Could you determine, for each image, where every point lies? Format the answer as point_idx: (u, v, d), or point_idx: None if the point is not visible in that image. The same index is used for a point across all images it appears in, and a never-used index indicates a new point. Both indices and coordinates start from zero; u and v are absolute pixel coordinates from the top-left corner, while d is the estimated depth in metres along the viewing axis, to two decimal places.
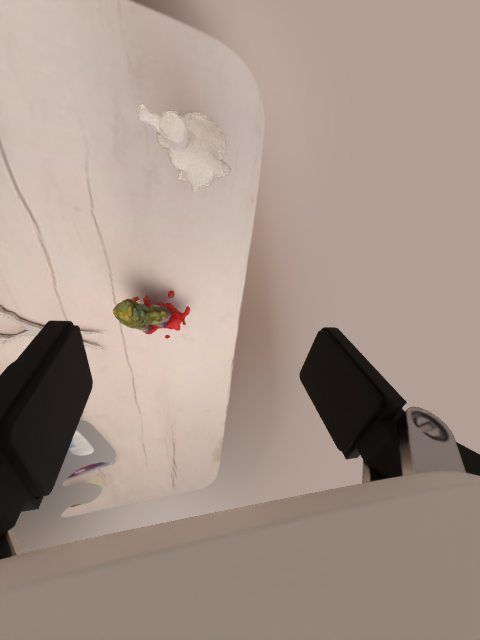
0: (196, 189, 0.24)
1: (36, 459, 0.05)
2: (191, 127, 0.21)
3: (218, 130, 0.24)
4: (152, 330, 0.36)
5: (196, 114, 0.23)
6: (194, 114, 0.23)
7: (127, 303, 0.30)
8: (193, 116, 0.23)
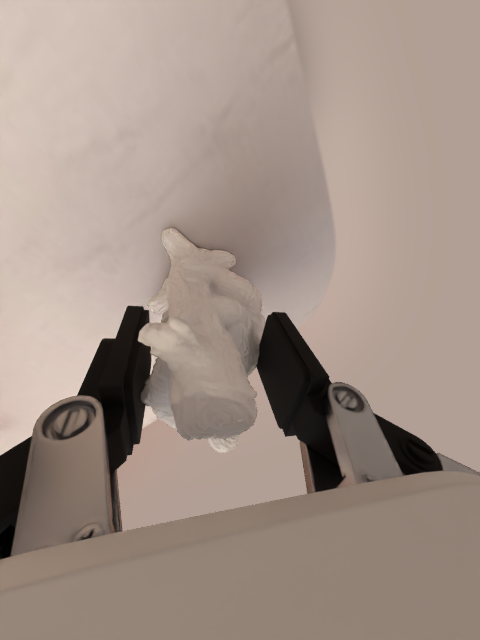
0: None
1: (137, 411, 0.07)
2: (238, 340, 0.09)
3: None
4: None
5: (254, 295, 0.12)
6: (252, 294, 0.11)
7: None
8: (249, 296, 0.11)
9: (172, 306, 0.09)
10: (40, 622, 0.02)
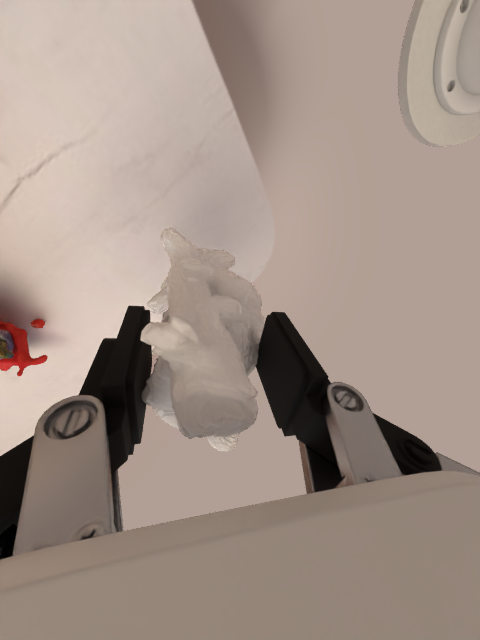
0: None
1: (138, 411, 0.07)
2: (238, 340, 0.09)
3: None
4: None
5: (254, 295, 0.12)
6: (251, 294, 0.12)
7: None
8: (248, 296, 0.11)
9: (172, 306, 0.09)
10: (40, 622, 0.02)
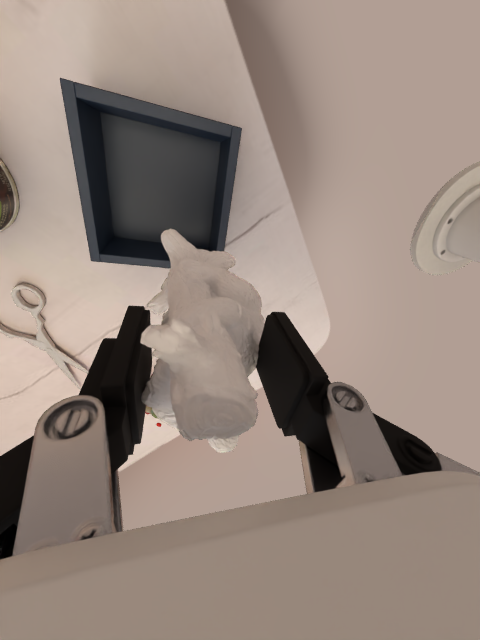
0: None
1: (138, 411, 0.07)
2: (238, 341, 0.09)
3: None
4: None
5: (254, 296, 0.12)
6: (251, 295, 0.12)
7: None
8: (248, 297, 0.11)
9: (172, 307, 0.09)
10: (40, 622, 0.02)
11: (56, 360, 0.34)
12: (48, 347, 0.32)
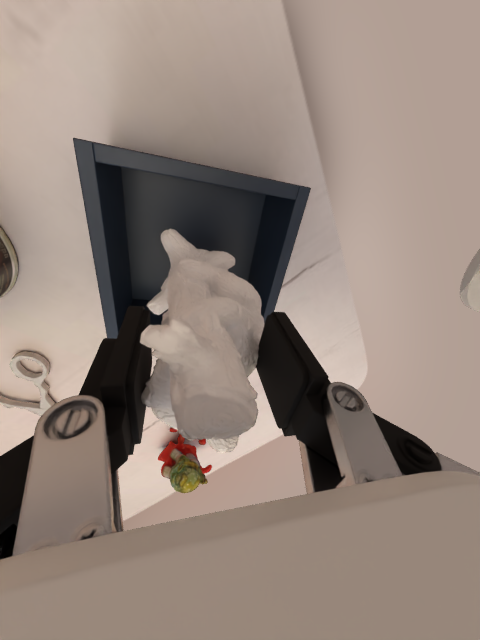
0: None
1: (138, 411, 0.07)
2: (238, 341, 0.09)
3: None
4: None
5: (254, 296, 0.12)
6: (251, 295, 0.12)
7: (197, 475, 0.29)
8: (248, 297, 0.11)
9: (172, 307, 0.09)
10: (40, 622, 0.02)
11: None
12: None
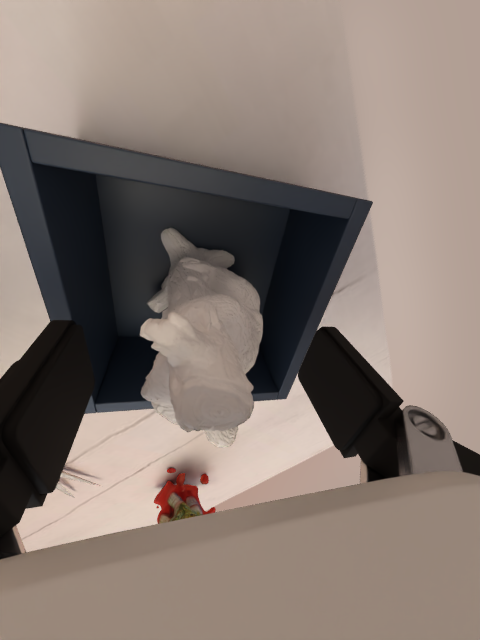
0: None
1: (40, 456, 0.05)
2: (236, 338, 0.09)
3: (260, 337, 0.13)
4: None
5: (252, 294, 0.12)
6: (250, 293, 0.12)
7: None
8: (247, 295, 0.12)
9: (172, 304, 0.10)
10: (40, 621, 0.02)
11: None
12: None
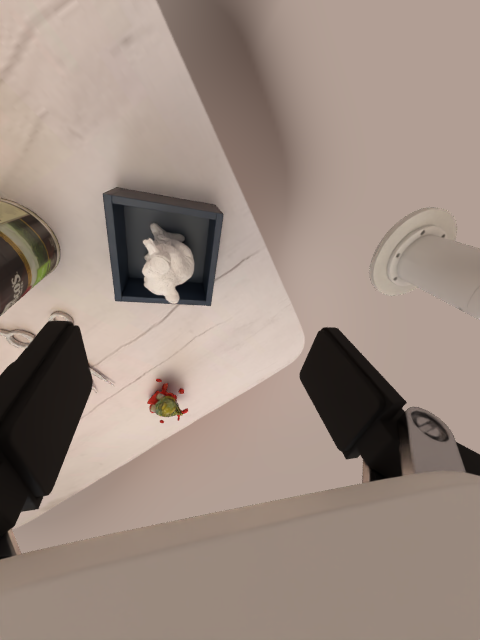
0: (146, 287, 0.28)
1: (36, 459, 0.05)
2: (175, 261, 0.27)
3: (192, 269, 0.30)
4: None
5: (186, 250, 0.29)
6: (185, 249, 0.29)
7: (174, 404, 0.42)
8: (184, 249, 0.29)
9: None
10: (40, 622, 0.02)
11: None
12: None
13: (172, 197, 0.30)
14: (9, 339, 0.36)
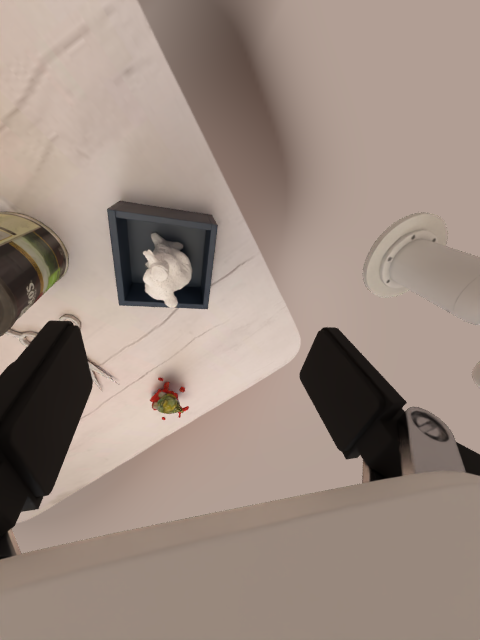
0: None
1: (36, 459, 0.05)
2: (173, 268, 0.29)
3: (189, 275, 0.32)
4: None
5: (184, 257, 0.32)
6: (183, 257, 0.31)
7: (174, 401, 0.44)
8: (181, 257, 0.31)
9: None
10: (40, 622, 0.02)
11: None
12: None
13: (171, 209, 0.33)
14: (22, 340, 0.38)
